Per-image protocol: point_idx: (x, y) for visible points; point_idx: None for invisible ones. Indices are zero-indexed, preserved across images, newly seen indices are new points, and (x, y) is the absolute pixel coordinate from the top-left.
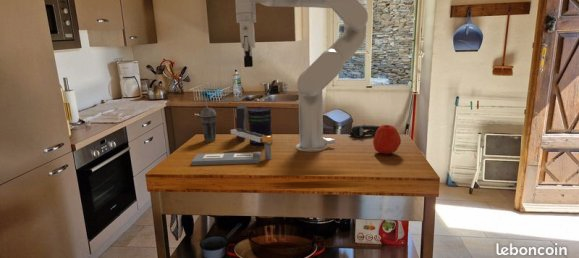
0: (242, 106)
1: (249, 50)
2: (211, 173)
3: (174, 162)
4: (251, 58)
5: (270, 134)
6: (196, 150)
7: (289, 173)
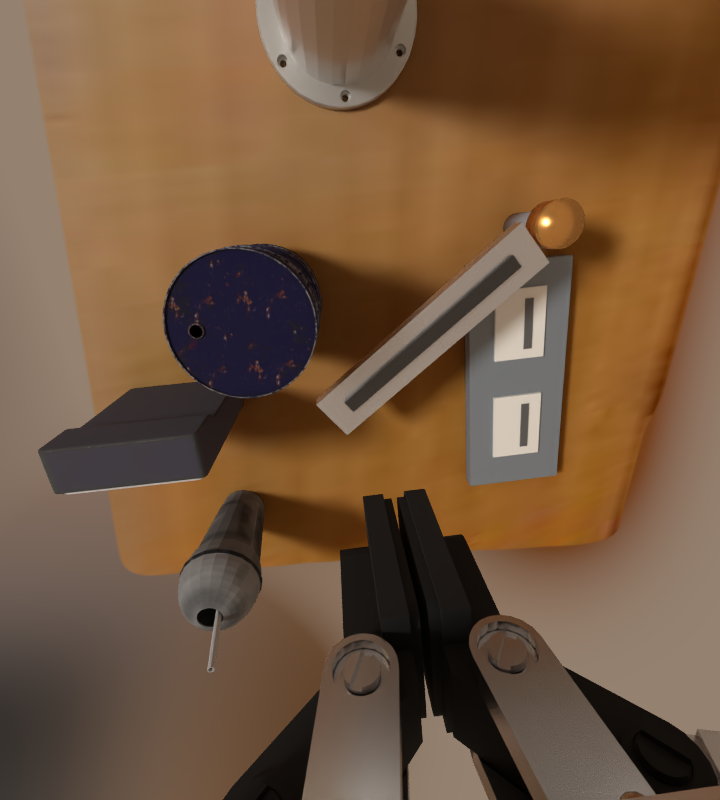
0: (114, 460)
1: (686, 773)
2: (643, 388)
3: (509, 525)
4: (460, 584)
5: (280, 249)
6: None
7: (714, 116)
